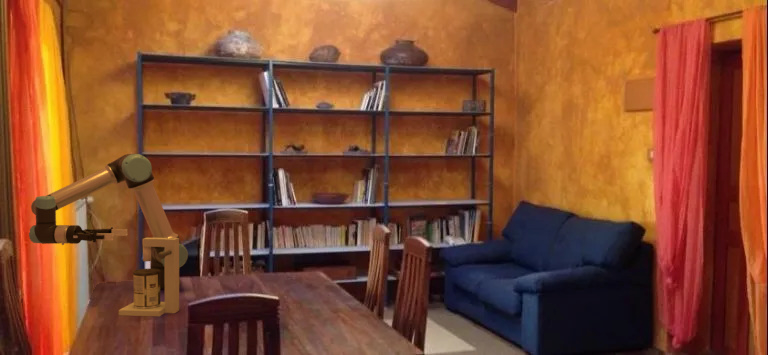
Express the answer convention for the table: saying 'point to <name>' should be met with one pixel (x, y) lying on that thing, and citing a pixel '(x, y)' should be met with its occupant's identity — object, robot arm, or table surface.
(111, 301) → the table surface
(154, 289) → the coffee can
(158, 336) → the table surface
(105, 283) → the table surface
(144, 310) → the press
